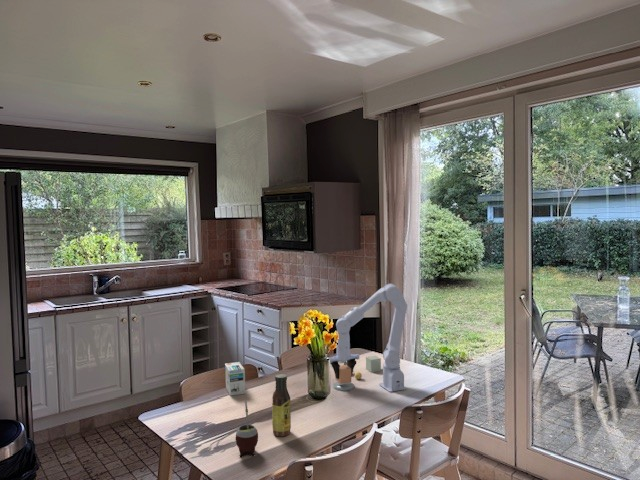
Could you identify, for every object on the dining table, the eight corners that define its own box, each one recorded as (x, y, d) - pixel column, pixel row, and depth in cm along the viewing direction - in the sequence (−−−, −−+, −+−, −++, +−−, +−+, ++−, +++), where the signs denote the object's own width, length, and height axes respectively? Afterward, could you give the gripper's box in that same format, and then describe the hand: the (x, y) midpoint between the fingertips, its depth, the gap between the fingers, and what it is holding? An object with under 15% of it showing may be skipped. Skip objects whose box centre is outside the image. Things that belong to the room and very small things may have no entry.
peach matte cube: (351, 382, 200) (351, 368, 199) (340, 383, 198) (339, 370, 198) (346, 378, 205) (346, 364, 204) (335, 380, 203) (335, 366, 202)
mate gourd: (247, 461, 142) (245, 413, 141) (229, 453, 147) (228, 406, 146) (264, 451, 148) (263, 404, 147) (246, 443, 152) (245, 399, 152)
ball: (363, 379, 210) (362, 372, 209) (356, 380, 208) (356, 373, 208) (359, 377, 212) (359, 370, 212) (353, 378, 211) (353, 371, 211)
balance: (354, 374, 216) (354, 362, 216) (347, 376, 214) (346, 364, 214) (343, 366, 228) (343, 355, 228) (335, 367, 226) (335, 356, 226)
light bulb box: (245, 393, 195) (245, 368, 195) (229, 396, 193) (229, 370, 192) (240, 385, 205) (239, 361, 205) (225, 387, 203) (224, 363, 202)
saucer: (357, 388, 199) (357, 387, 199) (338, 392, 195) (338, 390, 195) (348, 381, 207) (348, 380, 207) (330, 385, 204) (330, 383, 204)
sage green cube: (380, 370, 221) (380, 358, 220) (371, 372, 219) (371, 359, 219) (375, 367, 226) (375, 355, 225) (366, 369, 224) (365, 356, 223)
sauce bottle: (288, 438, 156) (287, 380, 155) (270, 436, 157) (269, 379, 156) (293, 429, 162) (292, 373, 161) (275, 427, 164) (274, 372, 162)
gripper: (354, 342, 207) (354, 372, 207) (324, 345, 201) (324, 376, 202) (361, 346, 200) (361, 377, 201) (330, 350, 195) (330, 382, 195)
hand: (343, 377), depth 201 cm, fingers closed on peach matte cube, 5 cm apart
